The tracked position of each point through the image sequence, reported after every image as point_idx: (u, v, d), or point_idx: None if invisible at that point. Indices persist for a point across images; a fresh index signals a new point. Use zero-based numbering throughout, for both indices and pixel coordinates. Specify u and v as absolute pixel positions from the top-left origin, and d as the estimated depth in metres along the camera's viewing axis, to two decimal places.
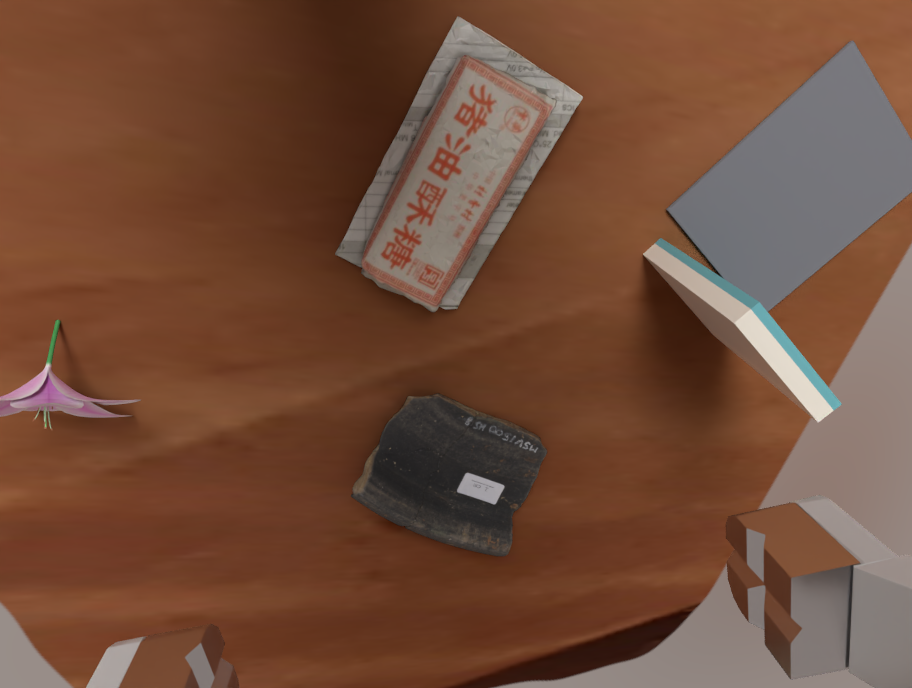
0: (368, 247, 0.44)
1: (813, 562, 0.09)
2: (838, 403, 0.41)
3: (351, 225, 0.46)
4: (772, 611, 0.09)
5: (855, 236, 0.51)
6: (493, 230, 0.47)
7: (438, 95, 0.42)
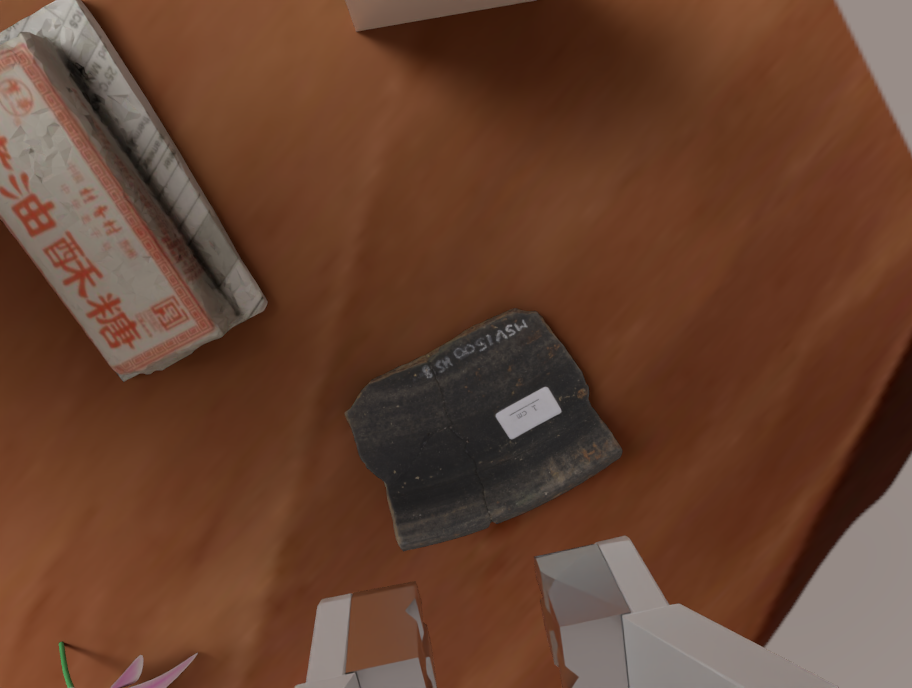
0: (101, 353, 0.34)
1: (587, 610, 0.08)
2: None
3: None
4: (562, 656, 0.09)
5: None
6: (189, 201, 0.35)
7: None
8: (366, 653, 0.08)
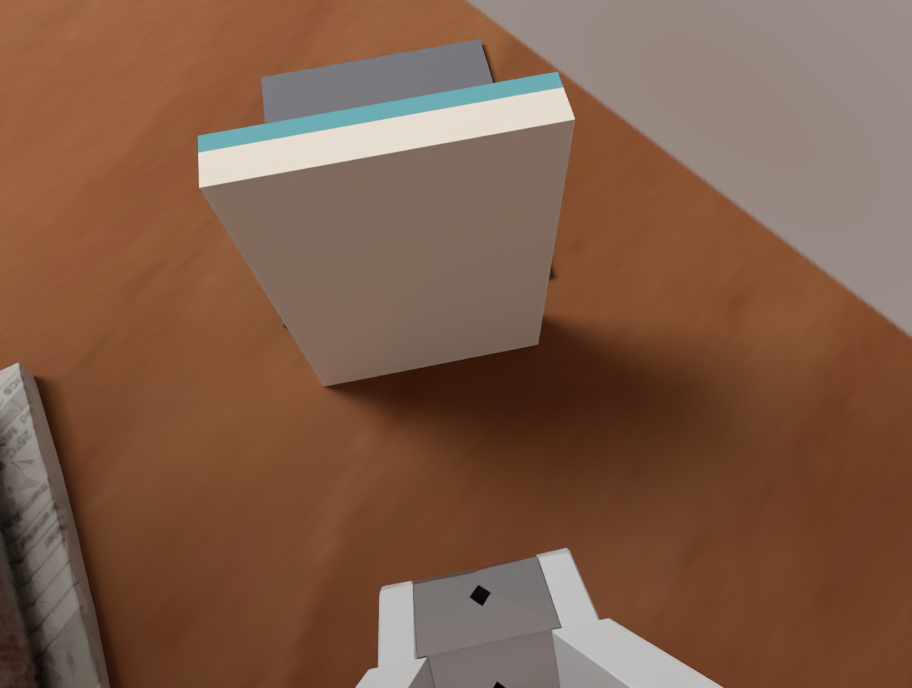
0: None
1: (519, 624, 0.08)
2: (550, 76, 0.18)
3: None
4: None
5: None
6: (59, 593, 0.25)
7: None
8: (436, 638, 0.08)
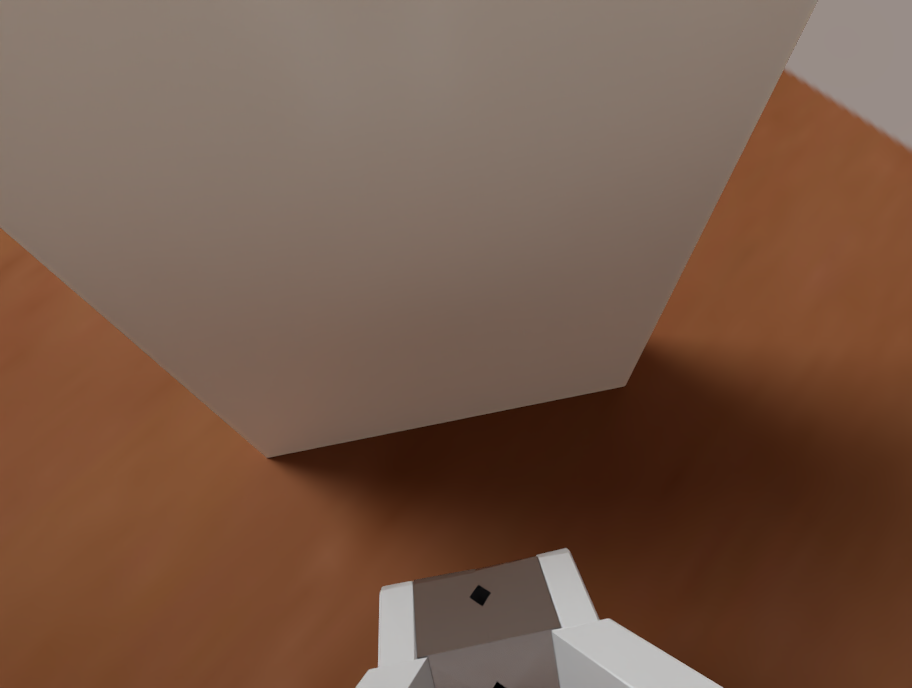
0: None
1: (519, 625, 0.08)
2: None
3: None
4: None
5: None
6: None
7: None
8: (436, 638, 0.08)
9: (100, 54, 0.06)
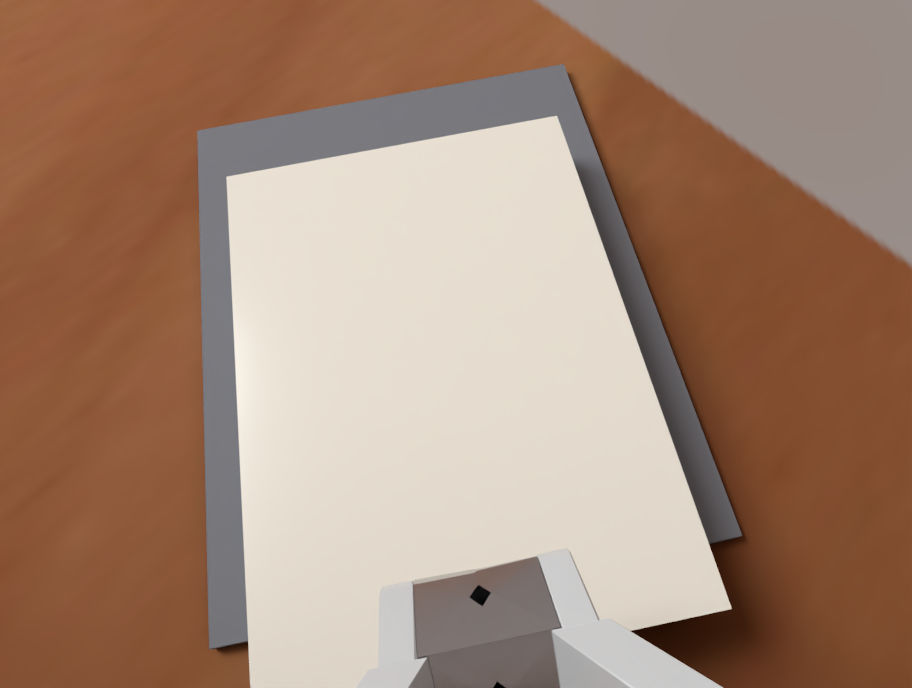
0: None
1: (519, 625, 0.08)
2: None
3: None
4: None
5: (617, 220, 0.20)
6: None
7: None
8: (436, 638, 0.08)
9: (310, 199, 0.18)
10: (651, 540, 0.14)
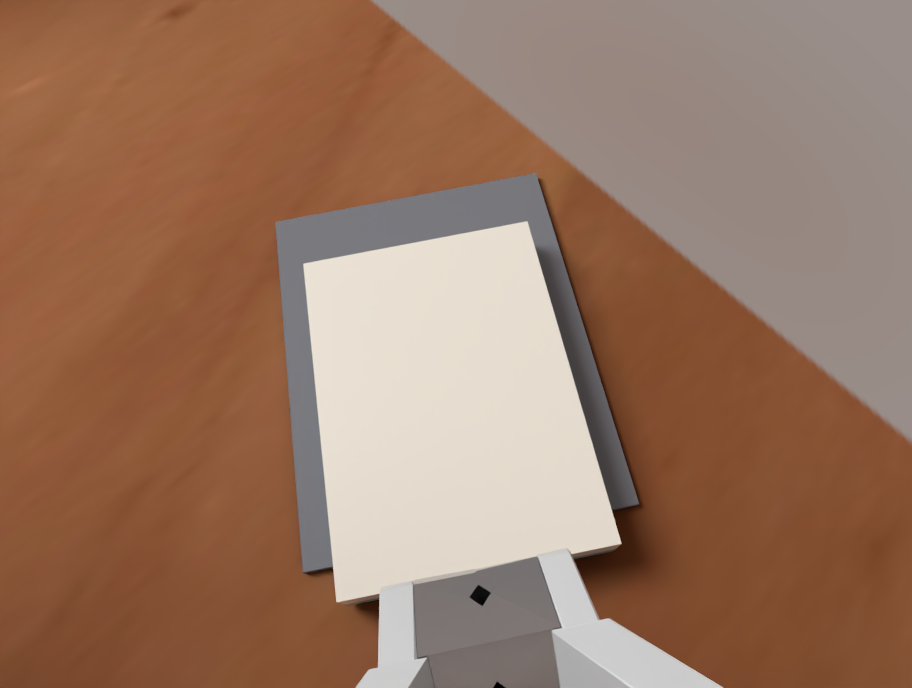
0: None
1: (519, 624, 0.08)
2: None
3: None
4: None
5: (569, 291, 0.29)
6: None
7: None
8: (436, 638, 0.08)
9: (360, 280, 0.28)
10: (576, 503, 0.23)
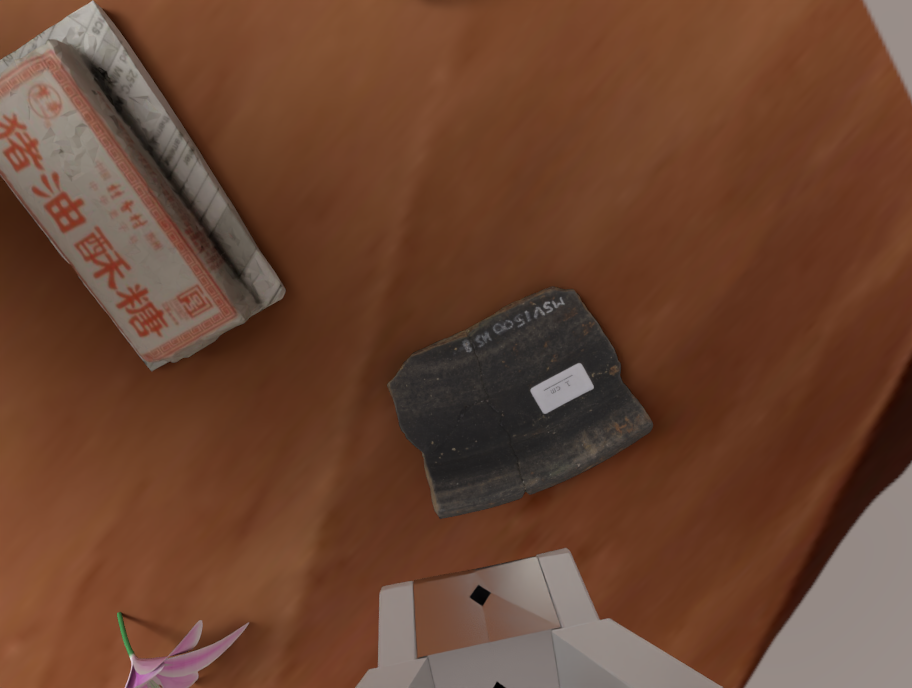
0: (131, 342, 0.36)
1: (519, 625, 0.08)
2: None
3: (126, 337, 0.39)
4: None
5: None
6: (209, 195, 0.36)
7: None
8: (436, 638, 0.08)
9: None
10: None
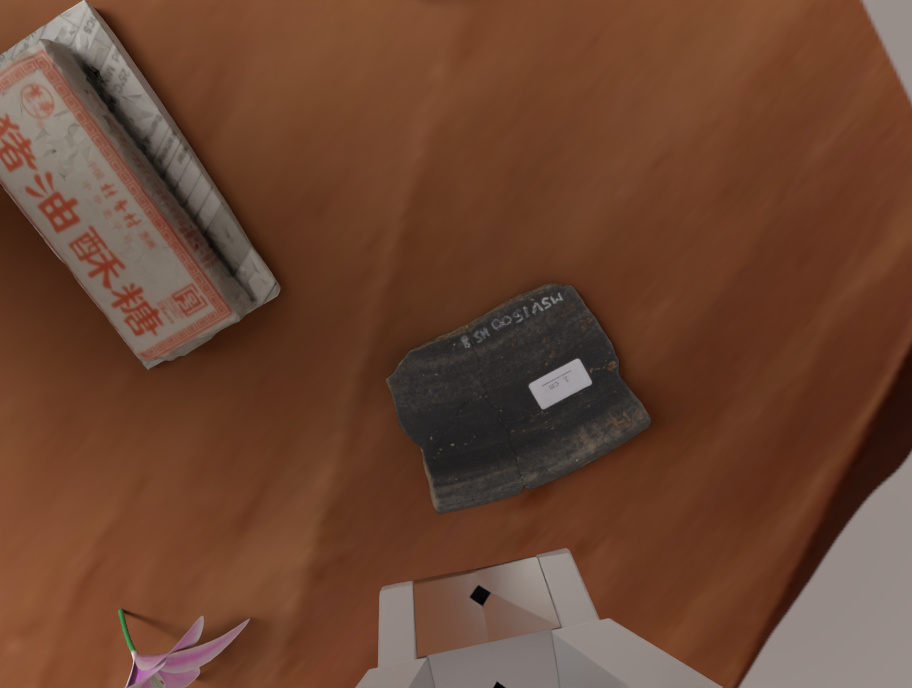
0: (126, 341, 0.36)
1: (519, 625, 0.08)
2: None
3: None
4: None
5: None
6: (203, 194, 0.36)
7: None
8: (436, 638, 0.08)
9: None
10: None
